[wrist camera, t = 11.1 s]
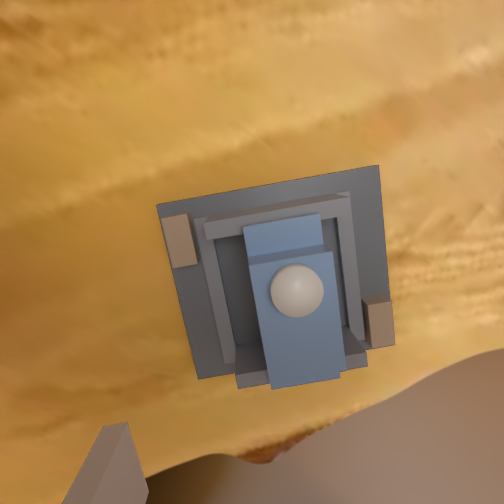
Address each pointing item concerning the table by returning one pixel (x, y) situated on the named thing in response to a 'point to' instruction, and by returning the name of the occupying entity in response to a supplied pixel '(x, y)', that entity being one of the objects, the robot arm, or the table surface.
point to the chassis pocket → (238, 275)
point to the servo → (295, 300)
